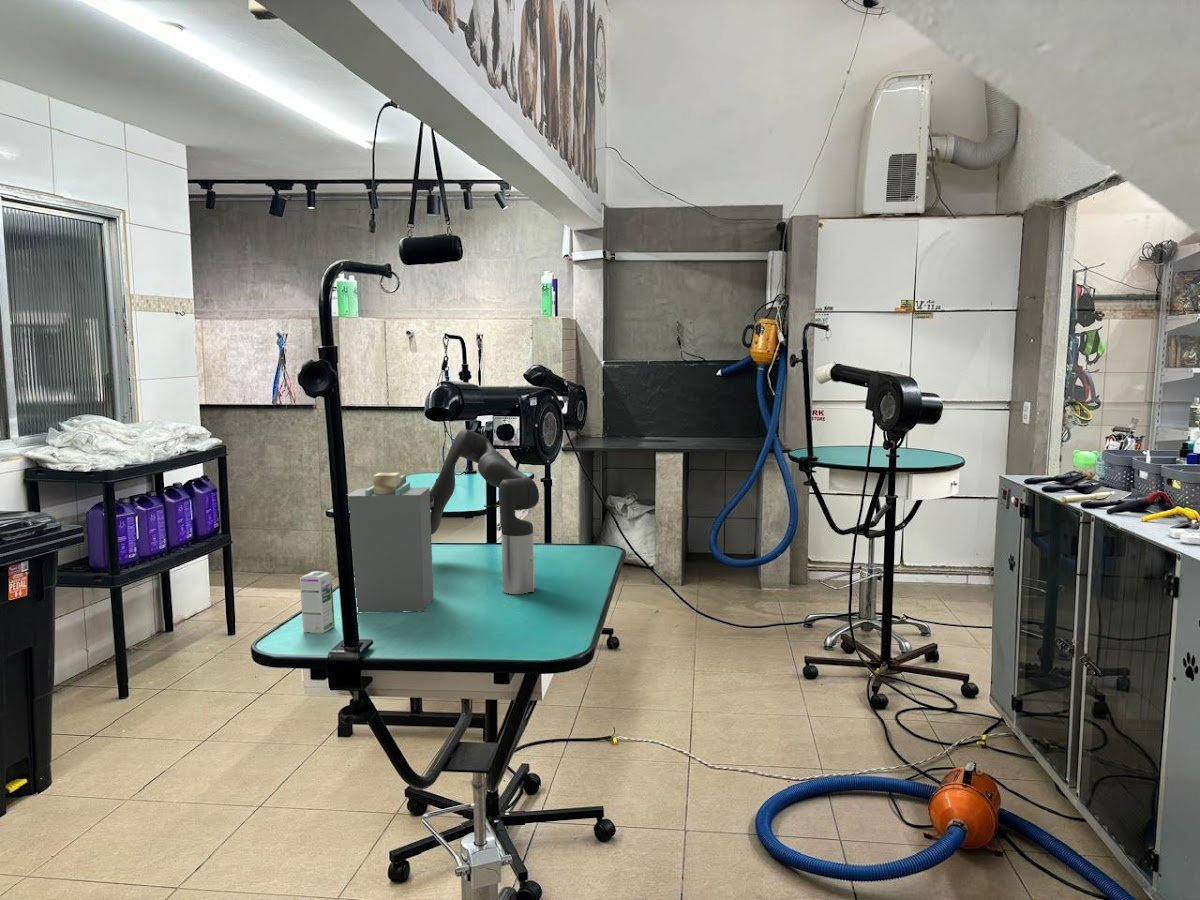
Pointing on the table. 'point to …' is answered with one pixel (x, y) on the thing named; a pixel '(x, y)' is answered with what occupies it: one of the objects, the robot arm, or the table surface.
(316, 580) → the syrup box
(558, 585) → the table surface
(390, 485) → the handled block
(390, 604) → the tall grey pedestal
